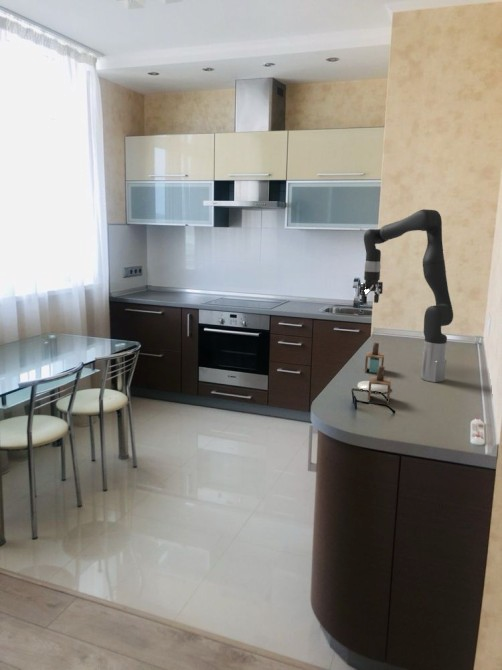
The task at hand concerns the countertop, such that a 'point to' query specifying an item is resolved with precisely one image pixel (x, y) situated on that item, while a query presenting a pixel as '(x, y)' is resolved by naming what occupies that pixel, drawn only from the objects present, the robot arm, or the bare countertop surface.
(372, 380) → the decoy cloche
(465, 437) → the countertop surface
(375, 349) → the brown forked piece
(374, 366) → the block
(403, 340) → the countertop surface
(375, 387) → the saucer
